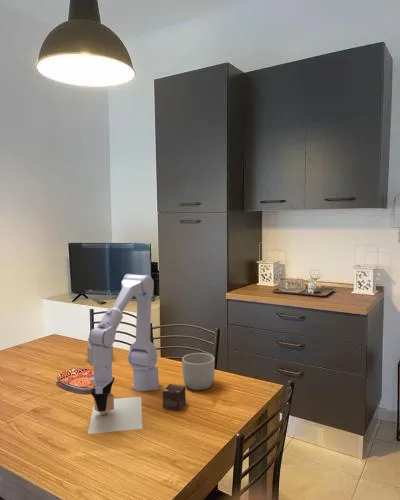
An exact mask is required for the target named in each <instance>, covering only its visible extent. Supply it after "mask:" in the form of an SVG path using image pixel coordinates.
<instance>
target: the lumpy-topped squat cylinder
mask: <svg viewBox="0 0 400 500" xmlns="http://www.w3.org/2000/svg"><path fill="white" fill-rule="evenodd" d="M86 347H87V348H86V350H87V351H86V353H87V354H86V355H87V362H88V363H89V364H90V365H93V351H92V349H91V345H90V343H89V342H88V344H87V345H86ZM111 357H112V362H114V345H113V344H112V345H111Z"/></svg>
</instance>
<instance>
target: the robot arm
mask: <svg viewBox="0 0 400 500" xmlns="http://www.w3.org/2000/svg"><path fill="white" fill-rule="evenodd" d="M120 284H121V289H120V291H119V294H118V295H117V298H116V300H115V302H114V304H113V306H112V307H111V308H108V309H107V310H106V312H105V313H104V315H103V316H102V318H101V319H100V322H99V323H98V325H97V326H96V327H94V328H92V329H91V331H90V332H89V335H88V337H87V339H88V340H87V341H88V344H89V343H90V345H91V349H92V351H93V377H90V378H89V382H91V383H92V382H93V384H94V386H95V388H92V389H91V391H90V393H91V396H92V397H93V400H94V399H95V401H96V404H97V408H98V411H105V410H106V405H107V397H108V394H109V393H111V392H112V386H113V383H114V381H115V377H113V361H112V357H111V345H113V344H114V343H115V340H116V335H117V330H118V327H119V325H120V324H121V322H122V320H123V318H124V315H123V312H124V311H125V308H126V307H127V306H128V304H129V303H130V301H131V300H132V298H133V297H135V299H136V300H137V301H136V324H135V325H136V326H135V327H136V328H135V341H134V342H133V343H131V344H130V345H129V351H128V354H127V361H128V363H129V365H130V366H131V368H132V371H133V372H132V374H133V375H132V376H133V378H132V379H133V384H132V388H133V390H134V391H136V392H148V391H155V390H156V391H157V390H160V388H159V387H160V380H159V366H158V365H157V364H158V363H157V362H158V354H157V346H156V345H155V344H154V343H153V342H152V341H151V321H152V320H151V316H152V297H153V296H154V287H155V285H154V284H155V283H154V279H153V278H152V276H151V275H149V274H145V275H144V274H133V273H132V274H131V273H126V274H125V275H124V276H123V279H122V280H121V283H120ZM111 394H112V393H111Z"/></svg>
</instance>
